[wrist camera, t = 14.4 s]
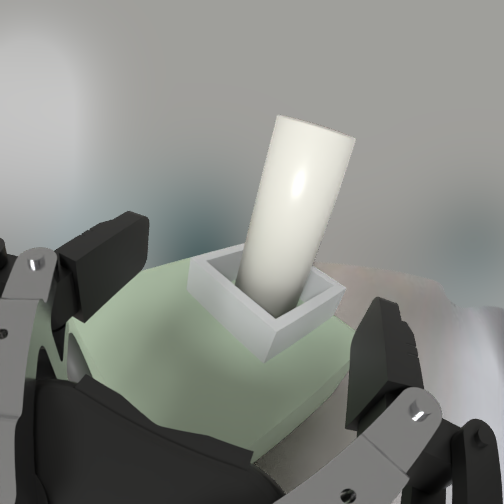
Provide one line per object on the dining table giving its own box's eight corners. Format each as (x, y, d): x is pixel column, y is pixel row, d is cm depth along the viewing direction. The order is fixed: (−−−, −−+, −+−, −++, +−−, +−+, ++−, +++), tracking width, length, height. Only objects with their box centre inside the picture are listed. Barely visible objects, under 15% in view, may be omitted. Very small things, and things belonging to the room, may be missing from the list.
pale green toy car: (339, 387, 28) (391, 305, 23) (161, 522, 13) (152, 492, 8) (233, 299, 37) (254, 216, 31) (62, 365, 22) (35, 264, 17)
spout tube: (304, 312, 24) (368, 142, 18) (263, 337, 21) (330, 134, 14) (261, 279, 27) (307, 120, 20) (218, 297, 24) (260, 111, 17)
